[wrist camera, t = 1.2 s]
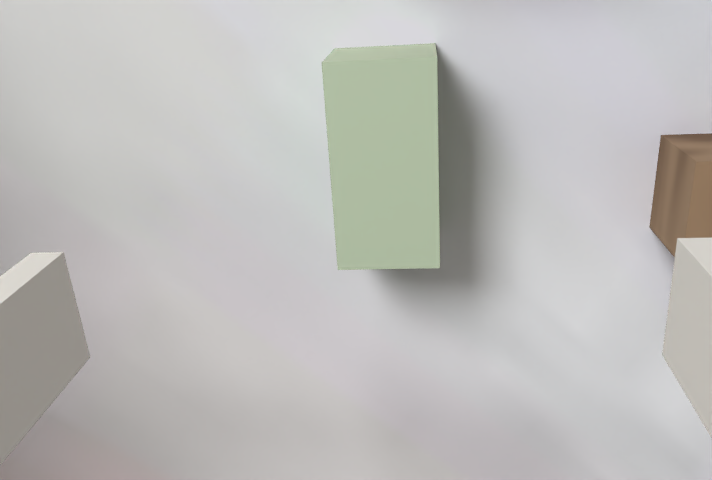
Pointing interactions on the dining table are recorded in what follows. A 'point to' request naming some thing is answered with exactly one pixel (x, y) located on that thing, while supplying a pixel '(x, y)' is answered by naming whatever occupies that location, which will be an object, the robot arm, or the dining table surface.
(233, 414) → the dining table surface
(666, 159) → the walnut brick
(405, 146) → the sage brick
